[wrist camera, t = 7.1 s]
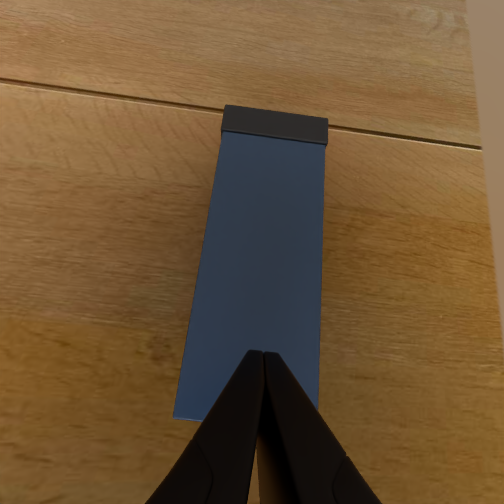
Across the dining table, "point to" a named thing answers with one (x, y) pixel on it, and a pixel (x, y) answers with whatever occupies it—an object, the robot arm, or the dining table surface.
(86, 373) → the dining table surface
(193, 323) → the blue capped box
